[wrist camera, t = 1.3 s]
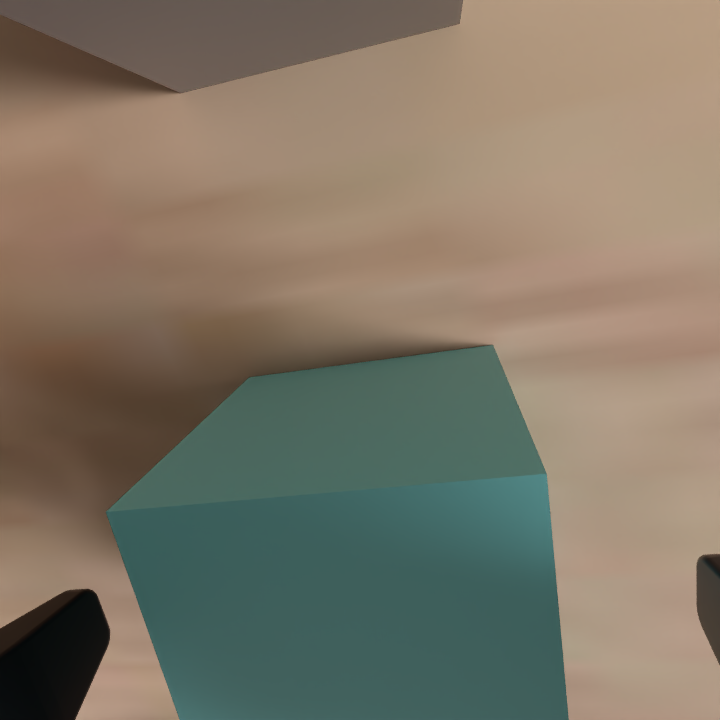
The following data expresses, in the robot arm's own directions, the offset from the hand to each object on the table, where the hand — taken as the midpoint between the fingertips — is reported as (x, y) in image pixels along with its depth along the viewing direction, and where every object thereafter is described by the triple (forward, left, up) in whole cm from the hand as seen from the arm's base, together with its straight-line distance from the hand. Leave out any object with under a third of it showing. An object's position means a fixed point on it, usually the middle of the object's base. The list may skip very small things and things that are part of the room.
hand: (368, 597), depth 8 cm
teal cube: (0, 0, -4) cm, 4 cm away
